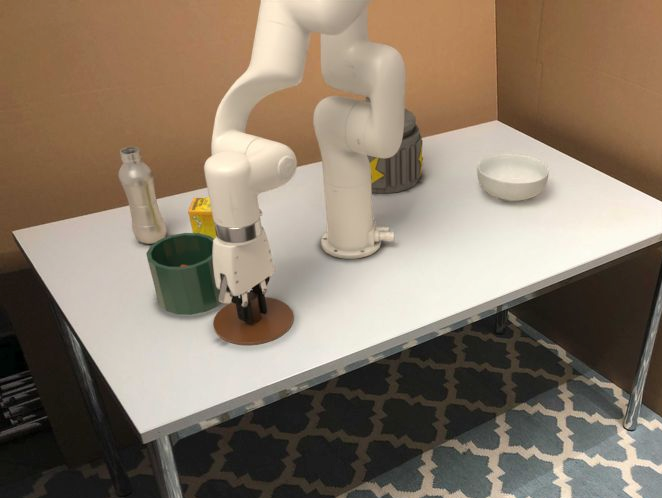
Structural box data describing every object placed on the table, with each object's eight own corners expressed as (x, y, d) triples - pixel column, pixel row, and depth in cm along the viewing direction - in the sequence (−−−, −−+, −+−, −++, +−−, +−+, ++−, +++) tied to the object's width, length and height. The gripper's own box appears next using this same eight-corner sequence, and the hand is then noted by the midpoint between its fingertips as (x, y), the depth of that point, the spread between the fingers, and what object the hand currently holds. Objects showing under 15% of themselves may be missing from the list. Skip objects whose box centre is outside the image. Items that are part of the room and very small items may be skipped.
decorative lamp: (356, 158, 197) (350, 37, 178) (428, 165, 196) (429, 44, 177) (336, 191, 182) (327, 63, 164) (414, 199, 181) (414, 71, 162)
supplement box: (202, 243, 162) (193, 196, 155) (231, 243, 162) (223, 196, 155) (197, 258, 157) (187, 211, 150) (227, 258, 157) (218, 211, 151)
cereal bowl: (557, 191, 187) (561, 164, 183) (525, 218, 176) (527, 190, 171) (498, 172, 194) (500, 146, 189) (462, 197, 183) (464, 169, 178)
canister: (234, 280, 151) (225, 233, 145) (219, 317, 142) (210, 269, 135) (169, 278, 151) (158, 232, 144) (150, 316, 141) (137, 268, 134)
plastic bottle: (159, 249, 159) (137, 159, 147) (129, 244, 160) (104, 155, 147) (174, 234, 164) (154, 145, 152) (145, 230, 165) (123, 141, 152)
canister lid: (299, 302, 146) (295, 275, 142) (287, 348, 135) (283, 320, 131) (224, 300, 146) (218, 273, 142) (205, 347, 135) (199, 318, 131)
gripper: (255, 202, 135) (268, 288, 146) (185, 241, 124) (204, 331, 135) (288, 213, 132) (298, 301, 144) (219, 255, 121) (236, 346, 132)
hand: (252, 315), depth 139 cm, fingers closed on canister lid, 2 cm apart
